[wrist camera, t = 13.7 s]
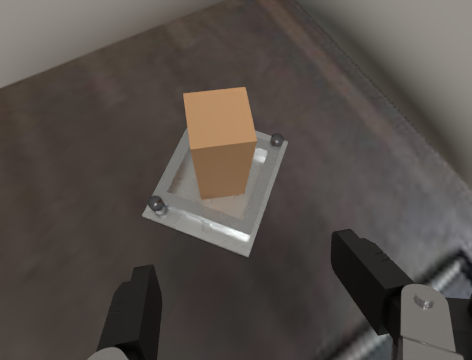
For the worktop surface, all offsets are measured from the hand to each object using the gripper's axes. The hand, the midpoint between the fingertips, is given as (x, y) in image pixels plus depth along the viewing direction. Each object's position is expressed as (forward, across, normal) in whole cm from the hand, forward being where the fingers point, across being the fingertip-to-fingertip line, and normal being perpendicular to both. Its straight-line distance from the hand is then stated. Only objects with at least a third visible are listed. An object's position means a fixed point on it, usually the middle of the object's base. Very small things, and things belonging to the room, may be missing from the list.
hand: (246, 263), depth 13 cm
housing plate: (+15, 0, +2) cm, 16 cm away
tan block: (+15, 0, +2) cm, 15 cm away
